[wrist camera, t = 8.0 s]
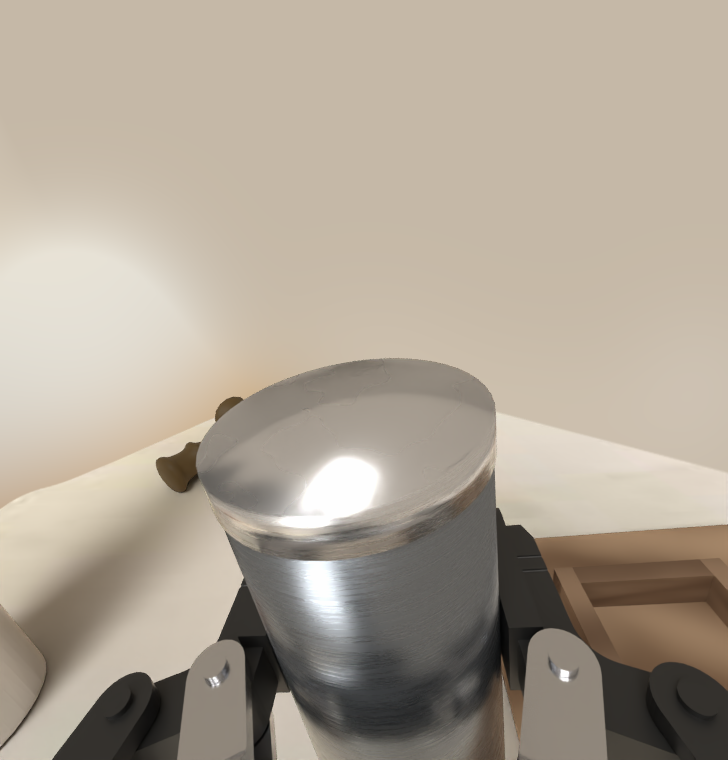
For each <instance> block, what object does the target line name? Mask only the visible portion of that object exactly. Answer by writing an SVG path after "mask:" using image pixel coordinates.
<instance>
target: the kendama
mask: <svg viewBox="0 0 728 760" xmlns="http://www.w3.org/2000/svg"><path fill="white" fill-rule="evenodd" d="M241 401H243V399H242V398H241V397H231V398H229V399H226V400H225V401H224V402H222V403H221V404H220V406H219V407H218V409H217V410H216V415H215V421H216V422H217V421H218V420H219V419H220V418H221V417H222V416H223V415H224V414H225V413H226V412H228V411H229V410H230V409H231V408H233V407H234V406H236V405H237V404H238V403H240V402H241ZM200 444H201V442H199V443H192V442H189V443H188V444H186V446H185V448H184V450H183V451H181V452H180V453H178V454H176V455H174V456H171V457H161V458H159V459H158V460H156V467H157V470H158V473H159V475H160V476H161V478H162V480H163V481H164V482H165V483H166V484H167V485H168V486H169V487H170V488H171V489H173V490H174V491H176V492H183V491H185V490H186V489H187V484H188V482H189V481H190V479H191V478H192V477H194V476H195V475H196V474H197V473H198V472H197V468H196V456H197V452H198V449H199V446H200Z"/></svg>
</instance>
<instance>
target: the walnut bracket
mask: <svg viewBox="0 0 728 760" xmlns="http://www.w3.org/2000/svg"><path fill="white" fill-rule="evenodd" d="M534 540H535V542H536V544H537V546H538V549H539V551H540V553H541V557H542V558H543V560H544V562H545V564H546V567H547V570H548V572H549V573H550V575H551V578H552V580H553V582H554V584H555V587H556V589H557V591H558V593H559V596H560V598H561V600H562V602H563V605H564V607H565V609H566V611H567V614H568V616H569V618H570V620H571V623H572V625H573V627H574V629H575V630H576V632H577V633H578V635H579V636H580V637H581V638H582V640H583V641H584V642H585V643H586V644H587V645H588V646H589V647H591V648H592V649H593V650H595V651H596V652H597V653H599V654H601V655H602V656H604V657H606V658H608V659H610V660H612V661H615V662H618V663H621V664H625V665H628V666H631V667H635V668H638V669H642V670H645V671H648V672H652V670H653V669H654V668H655V667H656V666H657V665H659V664H661V663H665V662H678V663H683V664H686V665H690V666H692V667H694V668H697V669H699V670H701V671H702V672H704V673H706V674H708V675H709V676H710V677H712V678H713V679H715V680H716V681H717V682H718V683H720V684H721V685H722V686H723V687H724V688H725V689H726V690H727V691H728V525H716V526H702V527H688V528H674V529H660V530H646V531H633V532H619V533H605V534H591V535H577V536H563V537H549V538H536V539H534ZM501 666H502V674H503V678H504V682H505V686H506V690H507V694H508V698H509V702H510V706H511V710H512V714H513V718H514V722H515V726H516V730H517V734H518V738H519V742H520V735H521V723H522V712H523V700H524V699H523V695H522V691H521V690H510V687H509V683H508V679H507V675H506V671H505V667H504V663H503V659H502V655H501Z"/></svg>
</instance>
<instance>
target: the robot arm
mask: <svg viewBox="0 0 728 760" xmlns="http://www.w3.org/2000/svg"><path fill="white" fill-rule="evenodd" d="M496 526H497V554H498V582H499V610H500V638H501V655H502V659H503V663H504V667H505V671H506V675H507V679H508V683H509V687H510V690H521V691H522V695H523V699H524V700H523V712H522V723H521V735H520V746H519V755H518V758H517V760H728V691H727V690H726V689H725V688H724V687H723V686H722V685H721V684H720V683H718V682H717V681H716V680H715V679H713V678H712V677H710V676H709V675H708V674H706V673H704V672H702V671H701V670H699V669H697V668H694V667H692V666H690V665H686V664H683V663H678V662H665V663H661V664H659V665H657V666H656V667H655V668H654V669H653V670H652V672H648V671H645V670H642V669H638V668H635V667H631V666H628V665H625V664H621V663H618V662H615V661H612V660H610V659H608V658H606V657H604V656H602V655H601V654H599V653H597V652H596V651H595V650H593V649H592V648H591V647H589V646H588V645H587V644H586V643H585V642H584V641H583V640H582V638H581V637H580V636H579V635H578V633H577V632H576V630H575V629H574V627H573V625H572V623H571V620H570V618H569V616H568V614H567V611H566V609H565V607H564V605H563V602H562V600H561V598H560V596H559V593H558V591H557V589H556V587H555V584H554V582H553V580H552V578H551V575H550V573H549V572H548V570H547V567H546V564H545V562H544V560H543V558H542V557H541V553H540V551H539V549H538V546H537V544H536V542H535V540H534V538H533V537H532V536H531V535H530V534H529V533H528V532H527V531H526V530H525V529H524V528H523V527H522V526H521V525H511V526H506V525H505V522H504V520H503V517H502V514H501V512H500V510H499V508H496ZM45 675H46V660H45V658H44V656H43V655H42V653H41V652H40V651H39V650H38V649H37V647H36V646H35V645H34V644H33V643H32V641H31V640H30V639H29V638H28V637H27V635H26V634H25V633H24V632H23V631H22V629H21V628H20V627H19V626H18V625H17V623H16V622H15V621H14V620H13V618H12V617H11V616H10V615H9V614H8V612H7V611H6V610H5V609H4V608H3V607H2V605H1V604H0V747H1V746H2V745H3V743H4V742H5V741H6V740H7V739H8V738H9V737H10V736H11V735H12V733H13V732H14V731H15V730H16V728H17V727H18V726H19V724H20V723H21V722H22V720H23V719H24V718H25V716H26V715H27V714H28V712H29V710H30V709H31V707H32V705H33V704H34V702H35V700H36V699H37V697H38V695H39V692H40V690H41V688H42V686H43V683H44V679H45ZM278 692H290V688H289V686H288V683H287V681H286V678H285V676H284V674H283V671H282V669H281V666H280V664H279V661H278V659H277V657H276V654H275V652H274V649H273V647H272V644H271V642H270V640H269V637H268V635H267V632H266V630H265V627H264V625H263V623H262V620H261V618H260V615H259V613H258V610H257V608H256V605H255V603H254V601H253V598H252V596H251V593H250V591H249V588H248V586H247V584H246V581H245V579H243V581H242V584H241V588H240V589H239V591H238V593H237V596H236V598H235V601H234V603H233V605H232V608H231V610H230V613H229V615H228V617H227V620H226V622H225V625H224V627H223V630H222V632H221V634H220V637H219V639H218V641H217V642H216V643H214V644H212V645H211V646H209V647H208V648H207V649H205V650H204V651H203V652H202V653H201V654H200V655H199V656H198V658H197V659H196V660H195V661H194V663H193V665H192V666H191V668H190V669H188V670H186V671H184V672H181V673H179V674H176V675H173V676H171V677H168V678H166V679H163V680H161V681H158V682H155V683H153V681H152V680H151V678H150V677H149V676H148V675H147V674H145V673H142V672H136V673H132V674H129V675H126V676H124V677H122V678H121V679H119V680H118V681H116V682H115V683H113V684H112V685H111V686H110V687H109V688H108V689H107V690H106V691H105V692H104V693H103V694H102V695H101V696H100V697H99V699H98V700H97V701H96V703H95V704H94V705H93V707H92V708H91V709H90V710H89V712H88V713H87V714H86V716H85V717H84V718H83V720H82V721H81V722H80V724H79V725H78V726H77V728H76V729H75V730H74V731H73V733H72V734H71V735H70V737H69V738H68V739H67V741H66V742H65V743H64V745H63V746H62V747H61V749H60V750H59V751H58V752H57V754H56V755H55V756H54V758H53V759H52V760H277V752H276V740H275V727H274V717H273V713H272V707H273V703H274V699H275V695H276V693H278Z"/></svg>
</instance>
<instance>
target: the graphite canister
mask: <svg viewBox="0 0 728 760" xmlns="http://www.w3.org/2000/svg"><path fill="white" fill-rule="evenodd" d="M496 456H497V440H496V412H495V403H494V400H493V398H492V395H491V393H490V392H489V390H488V389H487V388H486V386H485V385H484V384H483V383H481V382H480V381H479V380H478V379H477V378H475V377H473V376H472V375H470V374H469V373H467V372H465V371H462V370H460V369H458V368H455V367H452V366H449V365H445V364H441V363H437V362H432V361H425V360H417V359H399V358H393V359H392V358H389V359H370V360H361V361H353V362H347V363H341V364H336V365H331V366H327V367H323V368H319V369H315V370H312V371H308V372H305V373H302V374H299V375H296V376H293V377H290V378H287V379H285V380H282V381H280V382H278V383H275V384H273V385H271V386H269V387H267V388H264V389H262V390H261V391H259V392H257V393H255V394H253V395H251V396H250V397H248V398H246V399H245V400H243V401H241V402H240V403H238V404H237V405H236V406H234V407H233V408H231V409H230V410H229V411H228V412H226V413H225V414H224V415H223V416H222V417H221V418H220V419H219V420H218V421H217V422H216V423H215V424H214V425H213V426H212V427H211V428H210V430H209V431H208V432H207V433H206V435H205V436H204V438H203V440H202V442H201V444H200V446H199V449H198V452H197V456H196V468H197V472H198V476H199V478H200V481H201V483H202V486H203V488H204V490H205V493H206V495H207V498H208V500H209V503H210V505H211V507H212V510H213V512H214V514H215V516H216V518H217V520H218V522H219V523H220V525H221V526H222V527H223V529H224V530H225V533H226V535H227V537H228V540H229V542H230V545H231V547H232V550H233V552H234V554H235V557H236V559H237V562H238V564H239V567H240V569H241V571H242V574H243V576H244V579H245V581H246V584H247V586H248V588H249V591H250V593H251V596H252V598H253V601H254V603H255V605H256V608H257V610H258V613H259V615H260V618H261V620H262V623H263V625H264V627H265V630H266V632H267V635H268V637H269V640H270V642H271V644H272V647H273V649H274V652H275V654H276V657H277V659H278V661H279V664H280V666H281V669H282V671H283V674H284V676H285V678H286V681H287V683H288V686H289V688H290V691H291V693H292V695H293V698H294V700H295V703H296V705H297V708H298V710H299V712H300V715H301V717H302V720H303V722H304V725H305V727H306V730H307V732H308V734H309V737H310V739H311V742H312V744H313V747H314V749H315V751H316V754H317V756H318V759H319V760H505V750H504V722H503V694H502V666H501V638H500V610H499V582H498V554H497V526H496V499H495V471H494V467H495V462H496Z"/></svg>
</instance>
